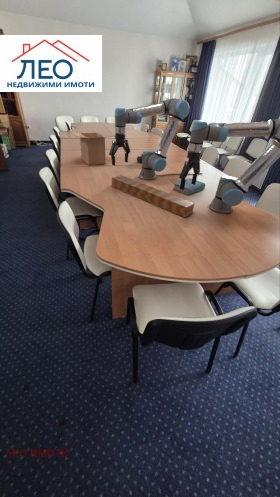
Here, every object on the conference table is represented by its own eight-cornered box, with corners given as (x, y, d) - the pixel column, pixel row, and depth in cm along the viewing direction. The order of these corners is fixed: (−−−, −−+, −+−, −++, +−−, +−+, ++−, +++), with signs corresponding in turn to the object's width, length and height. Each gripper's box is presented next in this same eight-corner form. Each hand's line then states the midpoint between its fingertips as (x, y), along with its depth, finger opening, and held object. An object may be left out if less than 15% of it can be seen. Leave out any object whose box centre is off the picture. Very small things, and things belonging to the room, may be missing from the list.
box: (116, 165, 229) (116, 136, 213) (83, 168, 214) (80, 137, 198) (102, 154, 259) (101, 128, 243) (71, 156, 244) (68, 129, 228)
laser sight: (156, 165, 238) (157, 155, 232) (135, 163, 241) (136, 153, 235) (157, 163, 245) (158, 153, 240) (137, 160, 248) (138, 151, 242)
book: (188, 183, 198) (190, 178, 195) (204, 189, 190) (205, 183, 187) (173, 189, 185) (174, 183, 182) (188, 195, 176) (190, 189, 173)
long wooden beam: (111, 186, 183) (111, 177, 178) (120, 183, 189) (120, 174, 184) (184, 217, 146) (186, 207, 141) (192, 213, 152) (194, 203, 148)
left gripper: (110, 135, 150) (111, 167, 162) (135, 132, 165) (134, 161, 178) (103, 133, 154) (104, 165, 166) (128, 131, 169) (127, 159, 182)
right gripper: (188, 155, 118) (181, 193, 131) (210, 149, 133) (202, 183, 146) (177, 152, 122) (171, 189, 134) (199, 147, 137) (192, 180, 150)
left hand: (120, 163), depth 172 cm, fingers open, 13 cm apart
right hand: (187, 186), depth 140 cm, fingers open, 13 cm apart
